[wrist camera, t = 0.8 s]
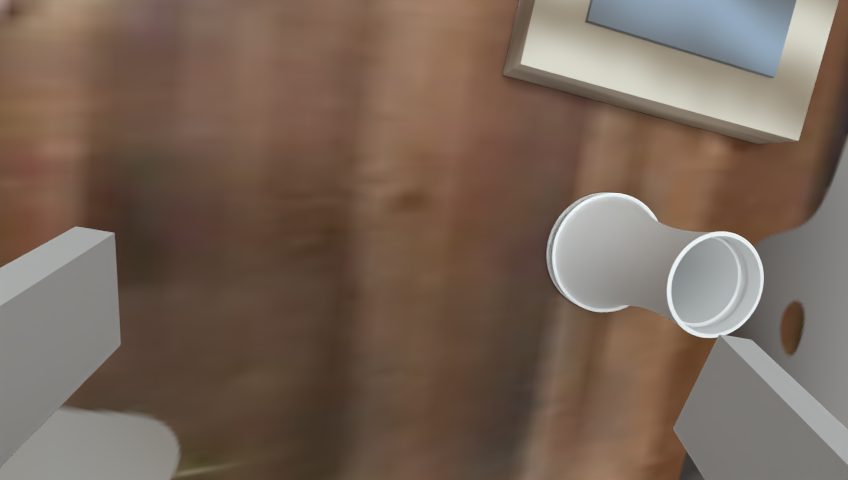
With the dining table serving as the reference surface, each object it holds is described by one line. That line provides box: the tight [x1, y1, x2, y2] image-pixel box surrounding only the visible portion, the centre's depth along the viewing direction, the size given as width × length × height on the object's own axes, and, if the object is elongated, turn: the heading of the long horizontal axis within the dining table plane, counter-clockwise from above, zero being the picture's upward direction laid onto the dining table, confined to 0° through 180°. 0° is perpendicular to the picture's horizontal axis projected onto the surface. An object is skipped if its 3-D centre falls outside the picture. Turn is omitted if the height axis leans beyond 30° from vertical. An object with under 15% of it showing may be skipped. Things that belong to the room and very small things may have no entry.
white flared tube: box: [546, 193, 764, 338], centre depth 27 cm, size 8×8×10 cm
